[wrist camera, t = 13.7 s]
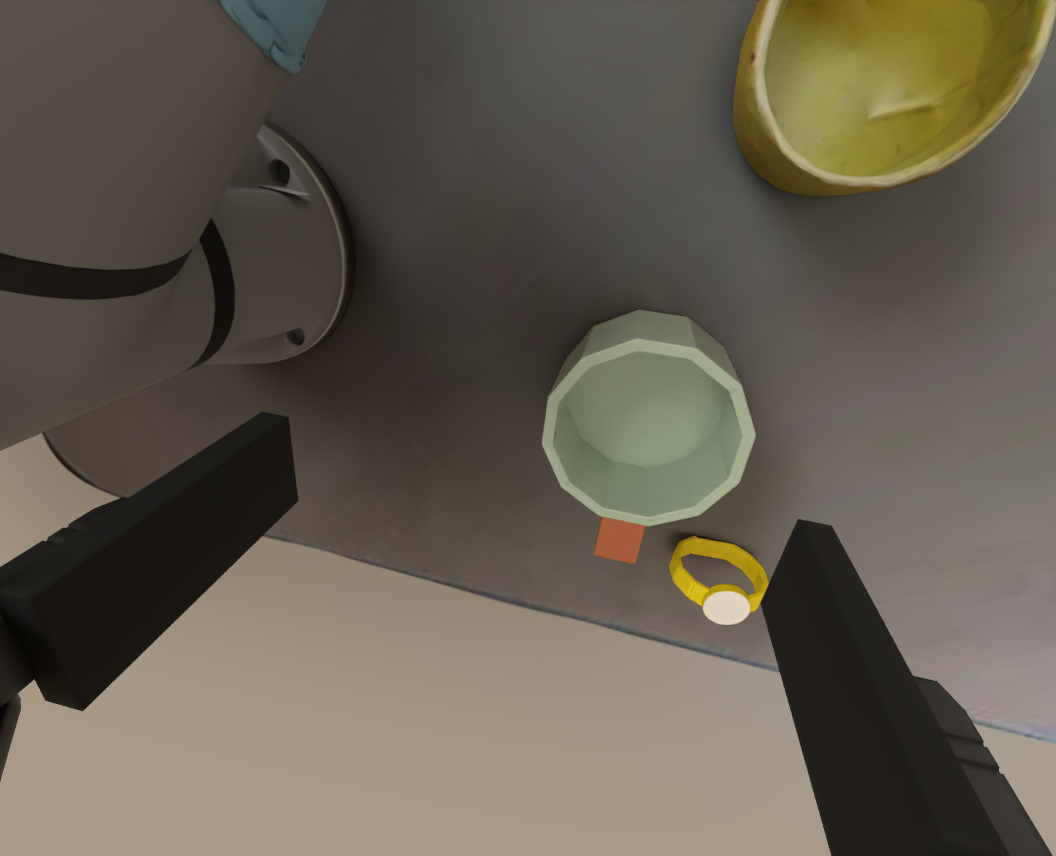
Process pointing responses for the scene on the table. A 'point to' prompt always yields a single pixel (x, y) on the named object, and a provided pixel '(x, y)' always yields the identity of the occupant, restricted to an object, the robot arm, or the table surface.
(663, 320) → the pale green cup
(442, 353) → the table surface
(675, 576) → the watch
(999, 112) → the mug
